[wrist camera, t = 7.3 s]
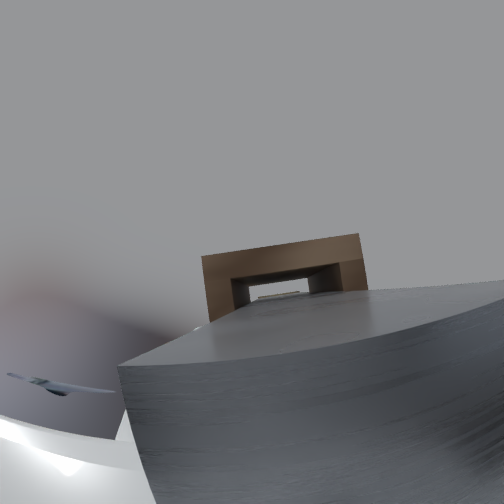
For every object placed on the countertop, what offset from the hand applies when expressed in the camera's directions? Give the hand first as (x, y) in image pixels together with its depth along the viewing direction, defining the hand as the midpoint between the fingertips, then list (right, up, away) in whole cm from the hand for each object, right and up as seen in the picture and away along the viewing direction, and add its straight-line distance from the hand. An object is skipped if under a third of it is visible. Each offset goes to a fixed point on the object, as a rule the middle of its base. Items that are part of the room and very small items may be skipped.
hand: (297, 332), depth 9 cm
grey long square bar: (0, -2, +3) cm, 4 cm away
